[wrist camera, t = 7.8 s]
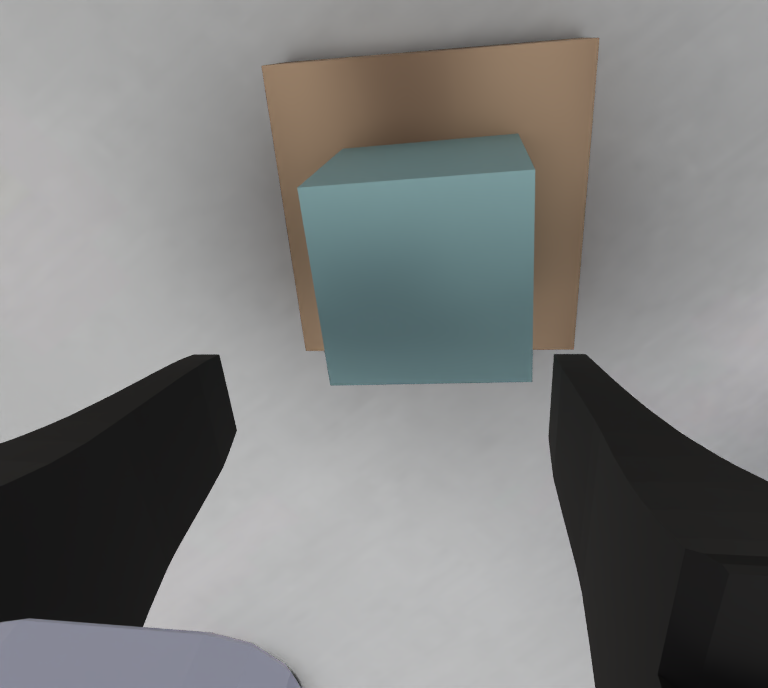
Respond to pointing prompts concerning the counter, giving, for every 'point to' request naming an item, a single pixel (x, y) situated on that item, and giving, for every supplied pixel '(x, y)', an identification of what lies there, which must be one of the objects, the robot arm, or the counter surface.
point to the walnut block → (444, 122)
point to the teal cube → (424, 261)
